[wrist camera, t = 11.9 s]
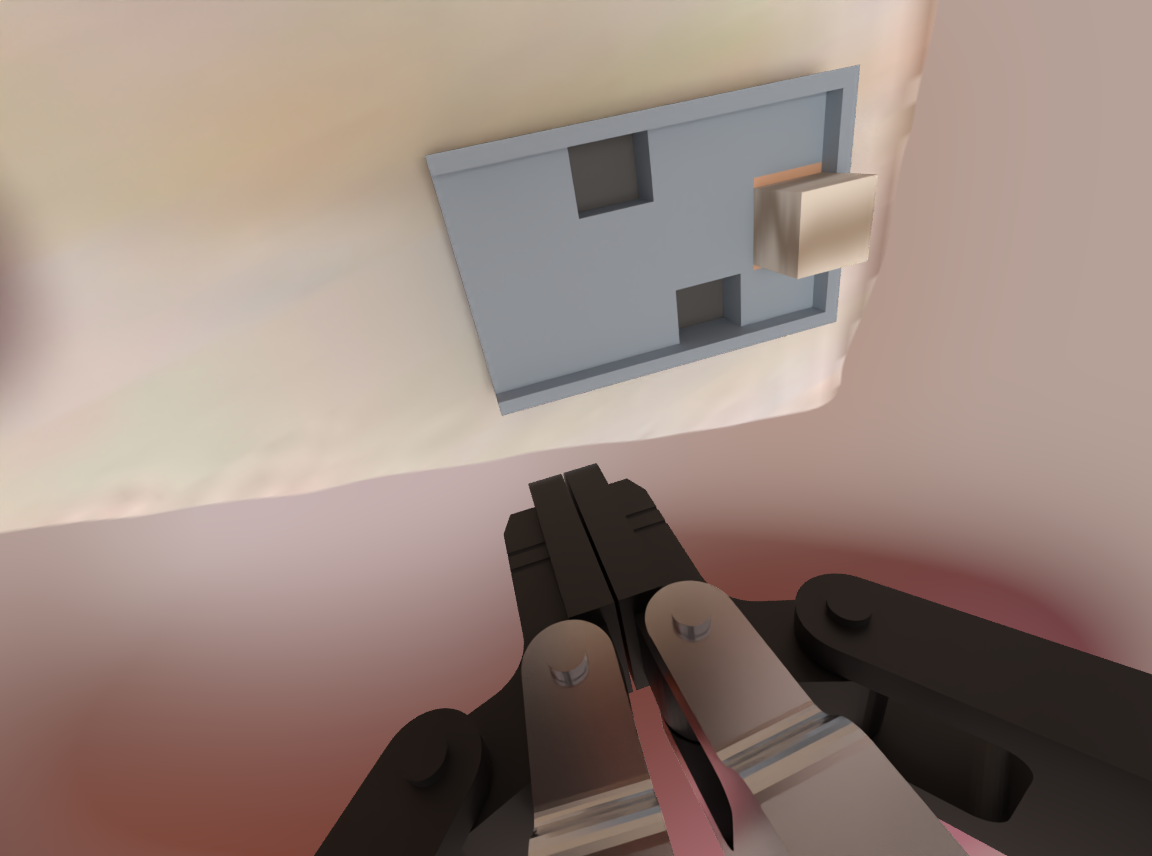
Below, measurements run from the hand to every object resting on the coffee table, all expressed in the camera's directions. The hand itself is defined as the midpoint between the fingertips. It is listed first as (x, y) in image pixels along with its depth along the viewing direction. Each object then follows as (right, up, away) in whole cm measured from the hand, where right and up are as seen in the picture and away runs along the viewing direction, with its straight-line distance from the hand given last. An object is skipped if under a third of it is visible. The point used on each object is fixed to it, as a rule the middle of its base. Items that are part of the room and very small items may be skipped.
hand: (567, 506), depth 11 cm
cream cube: (+15, +16, +24) cm, 32 cm away
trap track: (+5, +15, +25) cm, 30 cm away
